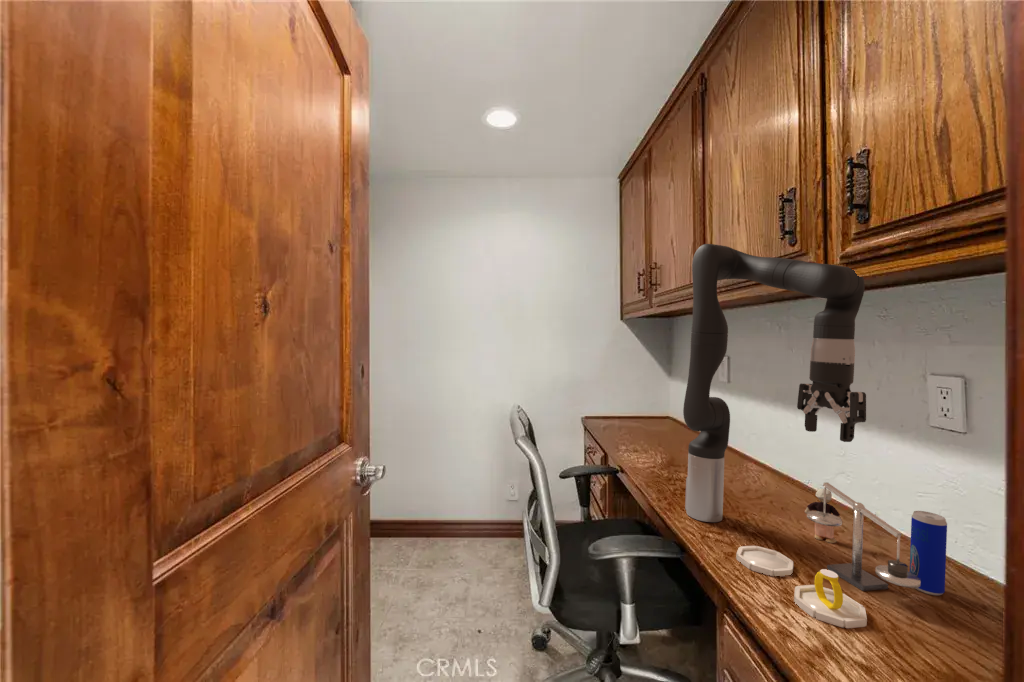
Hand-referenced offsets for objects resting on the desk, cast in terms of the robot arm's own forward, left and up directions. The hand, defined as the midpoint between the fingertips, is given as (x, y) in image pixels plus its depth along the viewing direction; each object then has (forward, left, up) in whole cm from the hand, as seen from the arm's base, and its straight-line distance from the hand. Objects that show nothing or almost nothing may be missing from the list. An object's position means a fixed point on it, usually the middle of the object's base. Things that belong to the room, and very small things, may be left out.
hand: (827, 436), depth 91 cm
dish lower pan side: (+11, -10, -29) cm, 33 cm away
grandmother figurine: (-14, +14, -30) cm, 36 cm away
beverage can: (+8, +16, -30) cm, 35 cm away
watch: (+11, -10, -29) cm, 32 cm away
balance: (+3, +5, -29) cm, 30 cm away
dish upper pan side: (-5, -10, -29) cm, 31 cm away
